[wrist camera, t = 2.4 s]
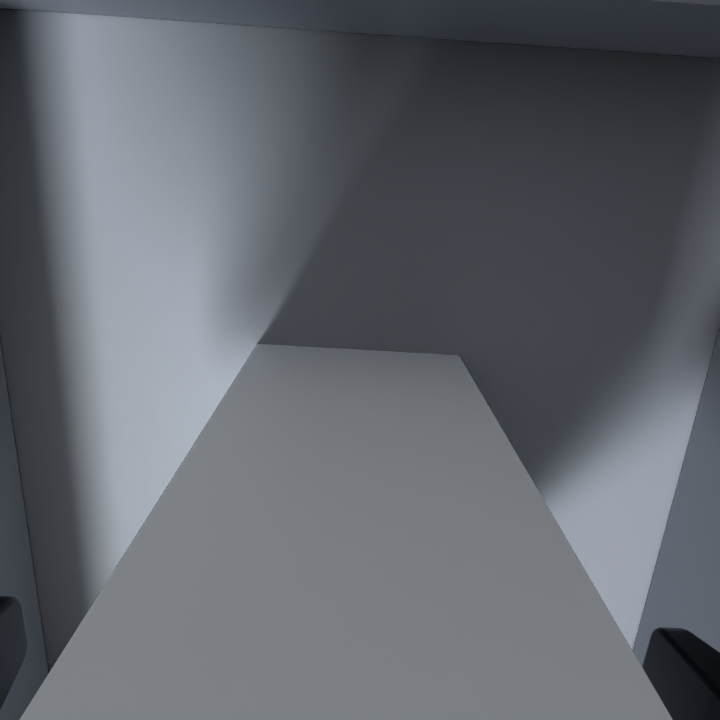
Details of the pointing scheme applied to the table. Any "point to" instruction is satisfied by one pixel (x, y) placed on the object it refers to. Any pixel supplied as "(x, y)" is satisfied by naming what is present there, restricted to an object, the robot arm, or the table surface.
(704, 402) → the case
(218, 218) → the table surface
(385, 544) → the block
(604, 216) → the table surface
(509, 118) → the table surface
